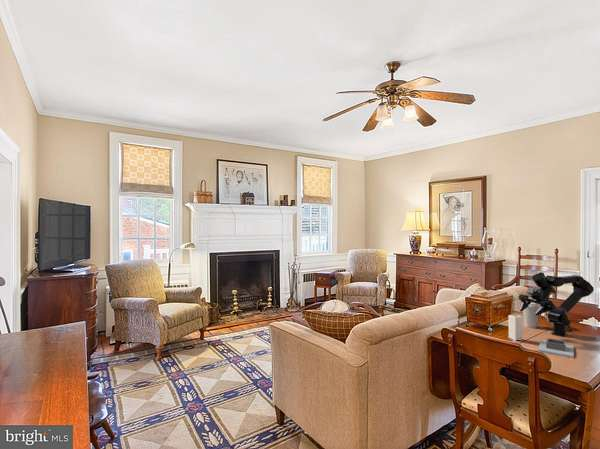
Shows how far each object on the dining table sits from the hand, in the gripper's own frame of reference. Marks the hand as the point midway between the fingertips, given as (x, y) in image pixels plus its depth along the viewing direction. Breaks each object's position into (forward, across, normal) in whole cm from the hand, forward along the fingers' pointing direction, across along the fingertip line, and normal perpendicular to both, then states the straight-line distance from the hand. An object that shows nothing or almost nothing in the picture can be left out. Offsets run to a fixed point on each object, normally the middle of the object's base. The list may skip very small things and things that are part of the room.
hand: (527, 312), depth 194 cm
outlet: (+11, +17, +10) cm, 22 cm away
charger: (+16, -1, +5) cm, 16 cm away
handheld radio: (-20, -12, +38) cm, 45 cm away
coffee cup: (-7, -17, +26) cm, 31 cm away
